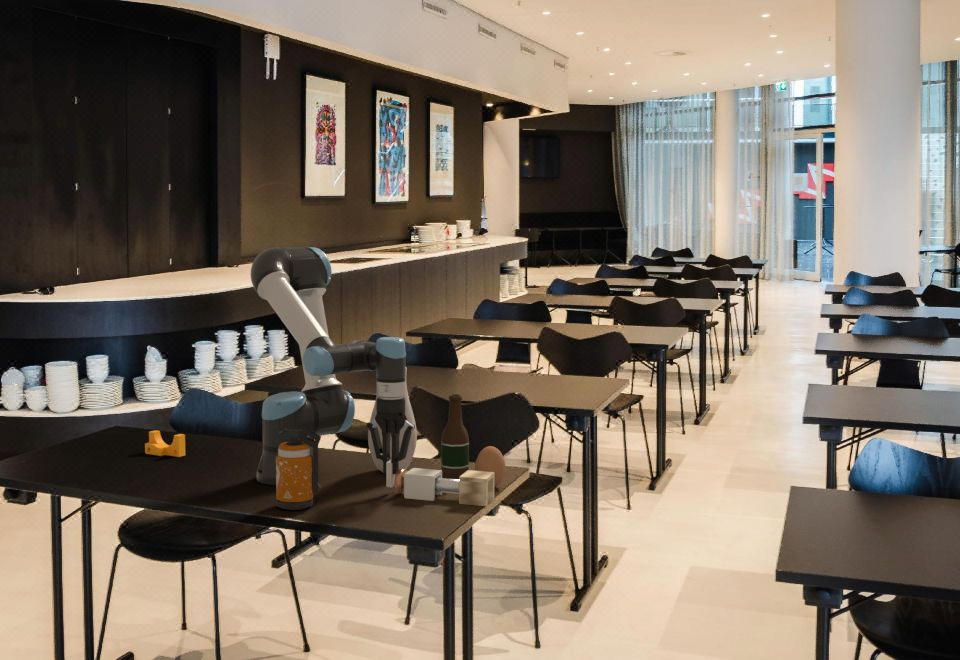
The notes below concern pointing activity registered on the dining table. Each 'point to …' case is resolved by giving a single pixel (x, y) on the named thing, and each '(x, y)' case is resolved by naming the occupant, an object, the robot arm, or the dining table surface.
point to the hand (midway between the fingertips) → (390, 485)
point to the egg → (491, 463)
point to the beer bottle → (454, 442)
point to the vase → (413, 439)
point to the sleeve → (421, 484)
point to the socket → (476, 488)
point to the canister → (297, 469)
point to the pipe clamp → (165, 445)
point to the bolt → (440, 483)
